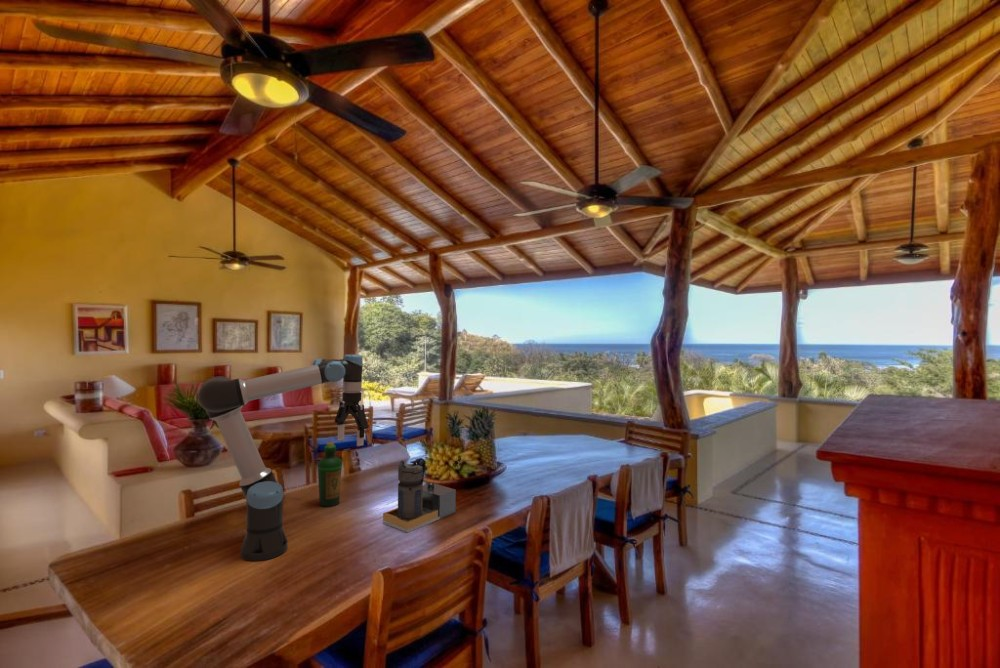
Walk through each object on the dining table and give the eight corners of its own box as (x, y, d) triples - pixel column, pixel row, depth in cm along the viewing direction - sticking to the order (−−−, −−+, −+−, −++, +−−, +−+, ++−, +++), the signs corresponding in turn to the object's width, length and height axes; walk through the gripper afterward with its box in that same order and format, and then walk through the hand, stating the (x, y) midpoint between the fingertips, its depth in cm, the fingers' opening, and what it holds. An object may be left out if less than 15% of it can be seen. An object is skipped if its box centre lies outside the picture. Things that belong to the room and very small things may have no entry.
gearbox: (407, 532, 190) (407, 502, 190) (382, 523, 199) (383, 494, 199) (455, 512, 212) (455, 485, 212) (431, 504, 221) (431, 478, 221)
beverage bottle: (431, 516, 203) (432, 457, 203) (406, 526, 193) (407, 464, 193) (416, 510, 210) (416, 453, 210) (391, 519, 200) (392, 459, 200)
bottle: (336, 508, 215) (337, 445, 214) (313, 507, 215) (314, 445, 215) (345, 500, 225) (345, 440, 225) (322, 499, 225) (323, 440, 225)
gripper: (378, 394, 195) (376, 446, 194) (342, 388, 210) (340, 436, 210) (362, 395, 189) (360, 449, 188) (327, 389, 204) (325, 439, 204)
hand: (350, 442), depth 199 cm, fingers open, 13 cm apart
